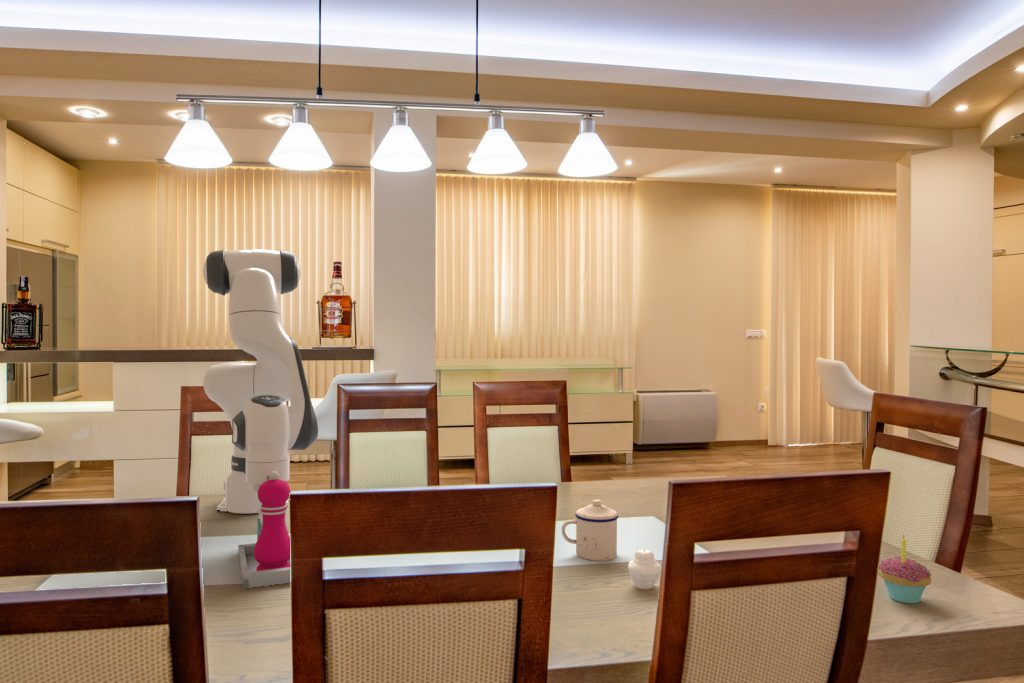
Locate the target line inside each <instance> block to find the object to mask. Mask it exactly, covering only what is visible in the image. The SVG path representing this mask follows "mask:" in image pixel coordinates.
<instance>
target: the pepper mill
mask: <svg viewBox="0 0 1024 683" xmlns="http://www.w3.org/2000/svg"><path fill="white" fill-rule="evenodd" d="M269 477H270V480H267V481H265V482H263V483H262V484H261V485H260V487H259V489H258V499H259V501H260V502H261V503H262V505H261V506H260V508H261V511H260V513H261V514H262V515H263V524H262V530H261V533H260V536H259V538H258V540H257V539H256V542H255V543H256V545H255V548H254V554H253V558H254V560H255V561H256V562H257V563H258V565H257V566H256V568H255V569H256V570H255V571H262V570H270V569H278V568H286V567H291V563H290V562H289V560H290V559H291V558H290V538H291V537H290V534H289V532H288V529H287V525H286V513H287V512H288V509H289V508H288V506H289V505H287V503H286V501H287V500H288V499H290V497H289V493H290V494H291V487H290V485H289V483H288V482H287V481H286V482H285V481H283V480H281V479H278V478H279V474H278V472H276V471H273V472H271V473H270V475H269Z"/></svg>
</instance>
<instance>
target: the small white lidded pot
mask: <svg viewBox="0 0 1024 683" xmlns="http://www.w3.org/2000/svg"><path fill="white" fill-rule="evenodd" d="M627 570H628V571H629V576H630V578H631V580H632V581H633V584H634V586H635V588H637V589H640V590H650V589H652V588H654V586H655V584H656V583H657V580H658V579H659V577H660V573H661V571H662V567H661V564H659V562H658V561H657V560H656V558H655V555H654V552H652V551H651V550H649V549H639V550H637V551H636V552H635V553H634V557H633V558H632V560H630V561H629V563H628V565H627Z"/></svg>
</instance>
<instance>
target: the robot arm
mask: <svg viewBox="0 0 1024 683" xmlns="http://www.w3.org/2000/svg"><path fill="white" fill-rule="evenodd" d="M202 274H203V279H204V283H205V284H206V285H207V288H208V289H209V290H210V291H211V292H213V293H215V294H219V295H221V296H223V297H225V296H226V295H227V294H229V298H228V299H229V301H228V304H229V305H228V323H229V332H230V337H231V340H232V342H233V343H234V344H235V345H236V346H237V348H239V349H241V350H242V351H243V352H245V353H247V354H249V355H251V356H253V357H254V358H255V359H256V361H229V362H221V363H217V364H213V365H211V366H210V367H209V368H208V369H207V371H206V372H205V374H204V376H203V381H202V384H203V390H204V393H205V394H206V396H207V398H208V399H209V400H211V401H212V402H214V403H215V404H217V405H218V406H219V407H220V408H221V409H222V411H223V412H224V413H225V415H226V416H227V418H228V419H229V423H230V427H231V430H232V431H231V433H232V434H231V443H232V445H233V446H232V447H233V448H232V453H233V454H232V456H231V460H230V464H231V472H230V474H229V475H227V477H226V478H225V481H223V491H224V493H223V499H222V500H221V502H220V503H219V504H217V507H216V511H217V510H220V511H219V512H227V511H228V512H227V513H232V514H244V515H245V514H258V517H259V518H258V519H260V521H261V525H262V524H263V515H262V514H261V513H260V511H261V508H260V506H261V505H262V503H261V502H260V501H259V499H258V489H259V487H260V485H261V484H262V483H263V482H265V481H267V480H270V477H269V475H270V473H271V472H273V471H276V472H278V474H279V478H278V479H281V480H283V481H285V482H286V483H287V482H288V481H289V480H290V457H291V456H290V453H289V451H305V450H307V449H308V448H309V447H310V446H311V445H313V443H314V442H315V441H316V440H317V438H318V437H319V424H318V423H319V422H318V419H317V416H316V413H315V412H316V411H315V410H314V406H313V403H312V400H311V395H310V392H309V391H310V390H309V387H308V381H307V376H306V373H305V369H304V365H303V360H302V357H301V353H300V350H299V347H298V344H297V342H296V340H295V339H294V338H292V337H291V336H289V335H288V334H287V332H286V331H285V329H284V327H283V324H282V320H281V308H280V299H279V294H278V293H280V295H284V294H288V293H291V292H294V290H296V289H297V288H298V284H299V283H300V281H301V275H302V270H301V265H300V263H299V260H298V257H297V256H296V254H295V253H293V252H291V251H287V250H272V249H263V248H262V249H261V248H252V249H235V250H234V249H233V250H224V249H221V250H214V251H211V252H209V254H208V255H207V256H206V259H205V261H204V265H203V268H202ZM287 402H290V405H289V406H288V403H287ZM286 503H287V505H288V500H287V501H286ZM288 506H289V505H288Z"/></svg>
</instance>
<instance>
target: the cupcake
mask: <svg viewBox="0 0 1024 683" xmlns="http://www.w3.org/2000/svg"><path fill="white" fill-rule="evenodd" d="M906 545H907V539H906V538H905V534H903V535H902V538H901V557H898V556H897V557H896V556H894V557H891V558H886V559H884V560H882V561H881V562H880V563H879V564H878V565H879V570H878V569H877V570H878V574H877V575H878V576H879V577H881V578H882V580H883V581H884V584H885V586H886V590H887V592H888V596H889V598H890V599H892V600H894V601H897V602H899V603H903V604H918V603H920V602H921V599H922V596H923V594H924V592H925V590H926V588H927V586H930V585H931V584H932V577H931V576H932V573H931V572H930V570H929V569H928V568H927V567H925V565H923V564H921V563H920V562H917V561H916V560H914V559H911V558H906V555H907V551H906V550H907V546H906Z"/></svg>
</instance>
